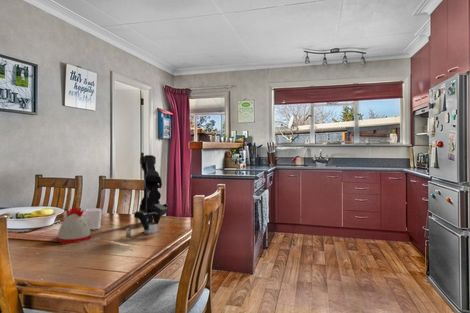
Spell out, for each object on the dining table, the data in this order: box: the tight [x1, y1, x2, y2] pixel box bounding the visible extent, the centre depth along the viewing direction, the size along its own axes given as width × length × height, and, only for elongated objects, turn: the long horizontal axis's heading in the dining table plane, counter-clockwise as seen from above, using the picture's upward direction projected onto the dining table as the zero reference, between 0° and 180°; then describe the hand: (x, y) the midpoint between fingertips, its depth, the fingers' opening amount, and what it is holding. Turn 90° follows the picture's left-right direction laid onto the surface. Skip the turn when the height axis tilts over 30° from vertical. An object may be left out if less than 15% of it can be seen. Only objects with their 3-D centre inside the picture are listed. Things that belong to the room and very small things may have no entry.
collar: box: [144, 221, 158, 235], centre depth 154 cm, size 6×6×4 cm
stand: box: [140, 223, 161, 236], centre depth 154 cm, size 7×7×6 cm
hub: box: [120, 227, 137, 240], centre depth 144 cm, size 7×7×5 cm
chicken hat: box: [57, 206, 92, 244], centre depth 143 cm, size 14×14×15 cm
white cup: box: [85, 208, 103, 231], centre depth 162 cm, size 8×8×10 cm
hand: (151, 229), depth 154 cm, fingers open, 7 cm apart
